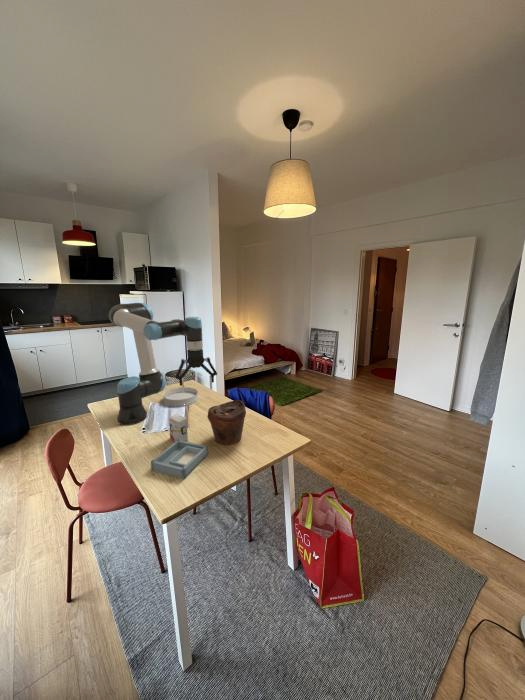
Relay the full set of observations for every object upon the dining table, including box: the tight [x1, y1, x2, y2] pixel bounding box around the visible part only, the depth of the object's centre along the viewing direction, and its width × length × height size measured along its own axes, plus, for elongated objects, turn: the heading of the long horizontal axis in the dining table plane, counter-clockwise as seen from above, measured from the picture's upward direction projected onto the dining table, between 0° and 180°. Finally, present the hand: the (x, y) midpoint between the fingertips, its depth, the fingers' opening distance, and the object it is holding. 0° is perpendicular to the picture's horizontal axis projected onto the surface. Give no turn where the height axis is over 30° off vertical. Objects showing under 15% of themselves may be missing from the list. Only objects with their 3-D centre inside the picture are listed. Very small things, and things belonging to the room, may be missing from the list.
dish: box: [163, 387, 199, 408], centre depth 189 cm, size 22×22×5 cm
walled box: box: [150, 440, 209, 480], centre depth 123 cm, size 16×18×4 cm
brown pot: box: [207, 399, 247, 446], centre depth 140 cm, size 18×20×18 cm
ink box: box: [168, 413, 189, 443], centre depth 140 cm, size 9×5×12 cm, turn 50°
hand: (197, 390), depth 145 cm, fingers open, 13 cm apart
